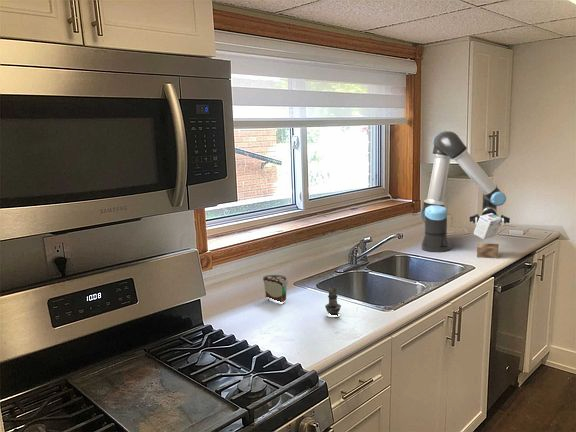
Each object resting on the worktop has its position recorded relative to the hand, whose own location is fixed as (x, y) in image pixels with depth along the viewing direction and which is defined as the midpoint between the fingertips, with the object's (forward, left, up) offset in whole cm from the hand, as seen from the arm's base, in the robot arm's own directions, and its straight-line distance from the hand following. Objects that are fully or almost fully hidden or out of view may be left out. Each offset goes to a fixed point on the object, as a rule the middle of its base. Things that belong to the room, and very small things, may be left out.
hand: (489, 222), depth 238 cm
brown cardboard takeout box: (0, +3, -18) cm, 18 cm away
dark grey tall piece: (-50, -98, -18) cm, 112 cm away
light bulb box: (-2, +3, -8) cm, 9 cm away
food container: (-76, -90, -18) cm, 120 cm away
